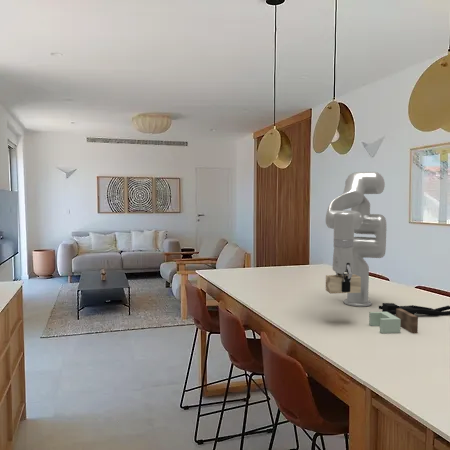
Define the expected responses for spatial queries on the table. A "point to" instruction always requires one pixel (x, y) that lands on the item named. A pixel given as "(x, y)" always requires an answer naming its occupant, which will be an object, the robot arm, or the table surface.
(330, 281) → the beige wooden brick
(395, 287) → the table surface
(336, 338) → the table surface
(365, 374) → the table surface
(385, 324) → the block
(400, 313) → the board
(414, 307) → the toy
